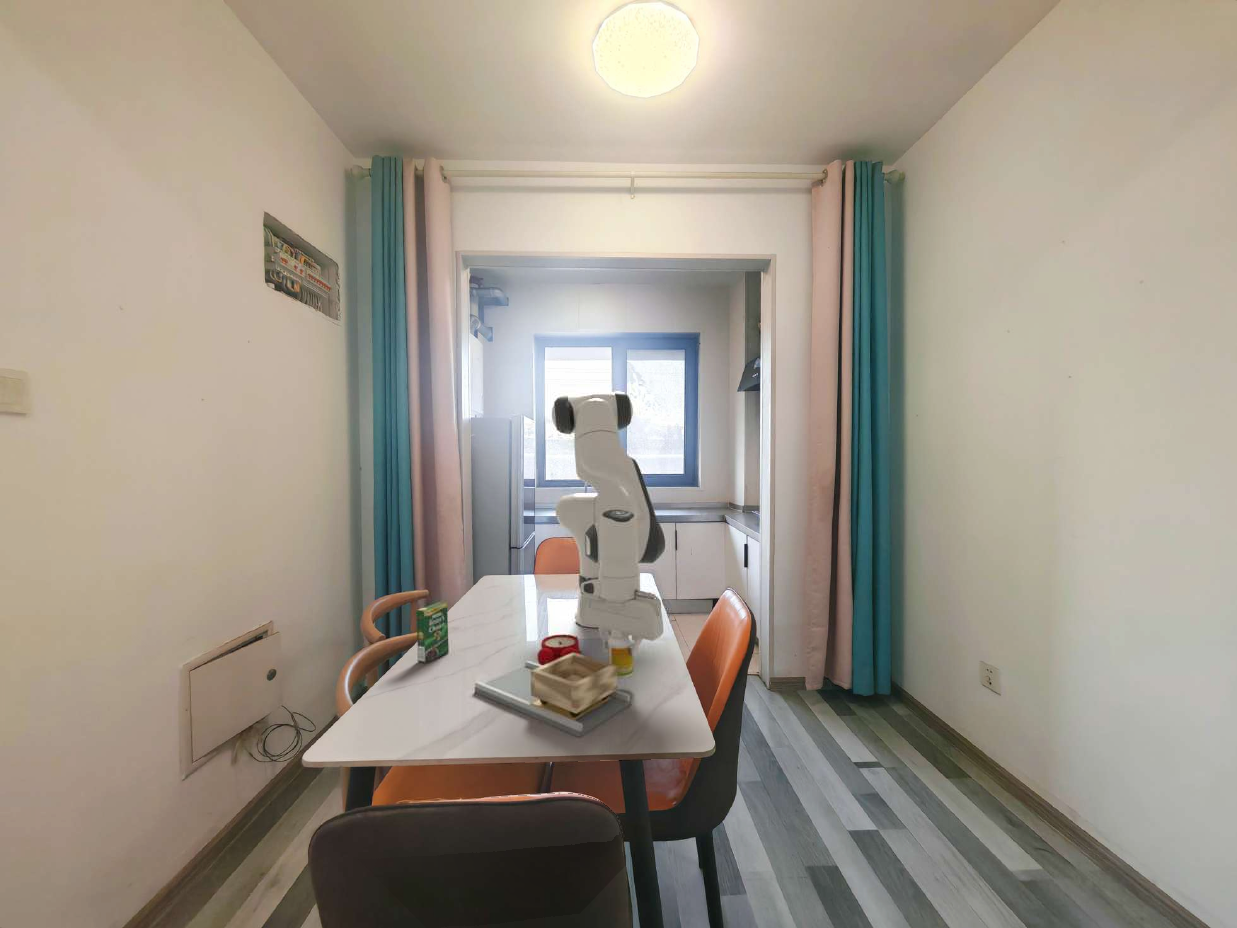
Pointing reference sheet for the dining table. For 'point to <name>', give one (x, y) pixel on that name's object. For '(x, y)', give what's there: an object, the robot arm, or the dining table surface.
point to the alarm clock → (557, 648)
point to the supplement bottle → (620, 653)
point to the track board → (517, 695)
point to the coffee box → (432, 632)
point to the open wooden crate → (574, 682)
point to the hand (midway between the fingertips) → (620, 651)
